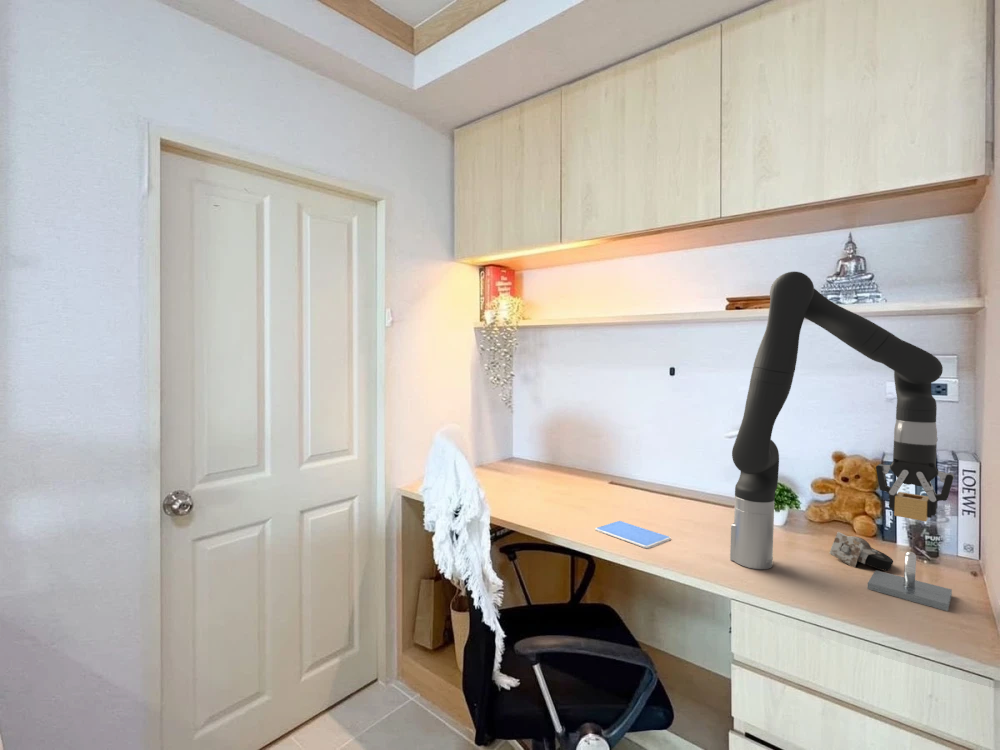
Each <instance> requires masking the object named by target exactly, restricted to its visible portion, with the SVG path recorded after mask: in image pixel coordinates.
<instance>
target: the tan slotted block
mask: <svg viewBox="0 0 1000 750" xmlns="http://www.w3.org/2000/svg"><path fill="white" fill-rule="evenodd" d="M928 501H929V498H928V496H927V495H921V494H917V493H916V494H915V493H909V492H904V491H903V492H902V491H897V495H896V496H895V510H894V511H893V512H894V517H900V518H904V519H910V520H917V521H921V522H927V521H928V519H929V518H928V517H927V514H928Z"/></svg>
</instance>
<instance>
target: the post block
mask: <svg viewBox="0 0 1000 750" xmlns="http://www.w3.org/2000/svg"><path fill="white" fill-rule="evenodd" d="M903 567H904V571H903V576H900V575H897V574H892V573H888V572H884V571H882V570H881V571H880V570H875V571H874V572H873V574H872V575H871V577H870V578H869V580H868V582H867V590H871V591H873V592H877V593H881V594H884V595H888V596H892V597H896V598H899V599H902V600H906V601H909V602H914V603H916V604H921V605H924V606H928V607H931V608H935V609H938V610H942V611H946V612H949V608H950V603H951V601H952V596H953V590H952V588H948V587H944V586H940V585H935V584H933V583H932V584H931V583H927V582H923V581H920V580H916V572H917V571H916V569H917V568H916V567H917V555H916V553H914V552H913V551H906V552H905V553H904V566H903Z"/></svg>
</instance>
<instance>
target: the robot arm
mask: <svg viewBox="0 0 1000 750" xmlns="http://www.w3.org/2000/svg"><path fill="white" fill-rule="evenodd" d="M769 298H770V301H769V309H768V317H767V323H766V328H765V331H764V335H763V336H762V339H761V342H760V343H759V347H758V348H757V349H758V350H757V353H756V355H755V359H754V362H753V367H752V370H751V376H750V381H749V386H748V390H747V396H746V401H745V406H744V411H743V417H742V420H741V424H740V427H739V429H738V432H737V435H736V438H735V441H734V444H733V446H732V452H731V457H732V462H733V464H734V466H735V467H736V468H737V469H738V471H740V474H739V478H738V480H737V482H736V484H735V486H734V487H735V488H734V516H733V521H734V522H733V523H731V525H730V546H729V547H730V549H729V551H730V554H729V558H730V559H729V560H730V561H731V562H735V563H736V564H738V565H741V566H743V567H745V568H749V569H754V570H768V569H771V568H772V567H773V559H774V557H773V556H774V554H773V553H774V530H775V529H774V528H775V527H774V526H775V524H774V523H775V497H776V495H775V494H776V492H777V488H778V483H779V472H780V471H779V470H780V469H779V468H780V453H779V452H780V451H779V449H778V446H777V444H776V443H775V442H774V441H773V440H772V433H773V429H774V425H775V423H776V420H777V418H778V416H779V414H780V413H781V410H782V409H783V407H784V405H785V402H786V401H787V399H788V396H789V394H790V391H791V388H792V385H793V381H794V377H795V371H796V368H797V367H796V365H797V360H798V353H799V343H800V335H801V330H802V326H803V323H804V320H805V319H806V320H808V321H810V322H811V323H814V324H815V325H817V326H819V327H821V328H822V329H824V330H825V331H826V332H828V333H830V334H831V335H832V336H834V337H835V338H837V339H838V340H840V341H841V342H843V343H845V344H846V345H847V346H848V347H851V348H852V349H854V351H857V352H858V353H860V354H861V355H863V356H865V357H867V358H868V359H870V360H871V361H874V362H877V363H881V364H883V365H884V366H886V367H887V368H889V369H891V370H892V371H893V378H894V387H895V392H896V393H895V394H896V407H895V408H896V410H895V411H896V412H895V424H894V430H893V451H892V453H893V456H892V462H891V464H882V463H879V464H877V465H876V467H875V471H876V474H877V481H878V487H879V490H880V491H883V492H885V493H887V494H888V507H889V508H890V509H891V510H892V512H894V510H895V496H896V495H897V493H898V492H899V490H900V488H901V487H902V485H908V486H909V485H914V486H916V487H922V488H923V491H924V492H925V493H926V496H928V498H929V501H928V514H927V517H928V519H932V517H935V516H936V514H937V505H938V504H937V503H938V502H939V501H940V502H941V501H943V502H944V501H945V502H946V501H947V500H948V498H949V496H950V492H951V488H952V485H953V481H954V479H955V474H953V473H952V472H943V471H940V470H939V468H938V467H937V445H938V430H937V429H938V428H937V400H936V399H935V397H934V396H933V395H932V383H934V382H936V381H938V380H939V379H940V377H941V376H942V375H943V370H944V369H943V364H942V363H941V361H940V360H939V358H938V357H936V356H935V355H933V354H932V353H930V352H929V351H926V350H924V349H922V348H920V347H918V346H916V345H914V344H912V343H910V342H908V341H905V340H903V339H901V338H899V337H898V336H896V335H895V334H893V333H892V332H890V331H889V330H886V329H885V328H884V327H881V326H880V325H879V324H877V323H875V322H873V321H871V320H869V319H867V318H866V317H863V316H861V315H859V314H857V313H855V312H853V311H851V310H848V309H846V308H844V307H842V306H840V305H838V304H836V302H835V303H834V302H833V301H831V300H830V299H828V298H827V297H825V296H824V295H823V294H822V293H821V292H819V291H818V290H817V289H816V288H815V286H814V283H813V281H812V279H811V278H810V277H809V276H808V275H807V274H805V273H803V272H800V271H788V272H785V273H783V274H781V275H779V276H778V277H777V278H775V280H774V281H773V283H772V284H771V286H770V290H769ZM889 471H891V472H892V473H893V474H894V475H895V477H896V480H895V481H894V483H893V485H892V486H889V485H888V481H887V477H886V476H887V474H889ZM936 477H939V479H940V482H941V483H943V485H942V489H941V492H940V493H936V491H935V489H934V486H933V484H932V482H931V481H933V480H934V479H935V478H936Z"/></svg>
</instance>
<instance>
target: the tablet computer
mask: <svg viewBox="0 0 1000 750" xmlns="http://www.w3.org/2000/svg"><path fill="white" fill-rule="evenodd" d="M594 530H595V531H596V532H598V533H601V534H605V535H607V536H610V537H612V538H616V539H619V540H622V541H623V542H627V543H630V544H632V545H635V546H637V547H641V548H643V549H651V548H655V547H656V546H659V545H661V544H663V543H667V542H669V541H670V540H672V537H671V536H669V535H666V534H664V533H663V534H662V533H658V532H656V531H653V530H649V529H646V528H643V527H640V526H637V525H634V524H630V523H629V522H625V521H621V520H616V521H615V522H610V523H608V524H604V525H601V526H597V527H595V529H594Z"/></svg>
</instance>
